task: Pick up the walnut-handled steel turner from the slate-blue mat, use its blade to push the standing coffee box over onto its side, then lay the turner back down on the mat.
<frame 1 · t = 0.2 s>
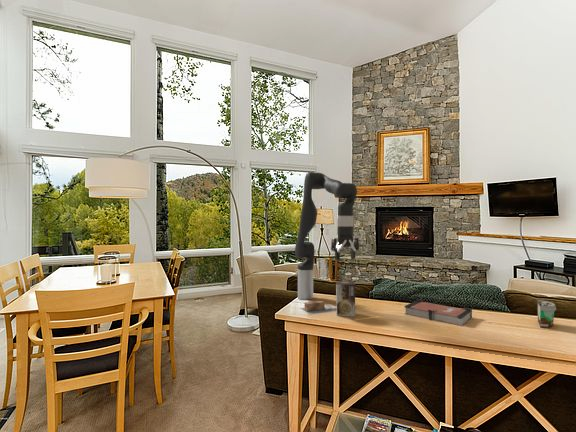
hand: (345, 259, 157), 28 cm above the table, tool pointing down, fingers open, 8 cm apart
coffee box: (345, 315, 164), on the table
book: (437, 317, 163), on the table
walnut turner: (314, 310, 171), resting on slate mat
slate mat: (320, 310, 172), on the table
food container: (547, 326, 149), on the table
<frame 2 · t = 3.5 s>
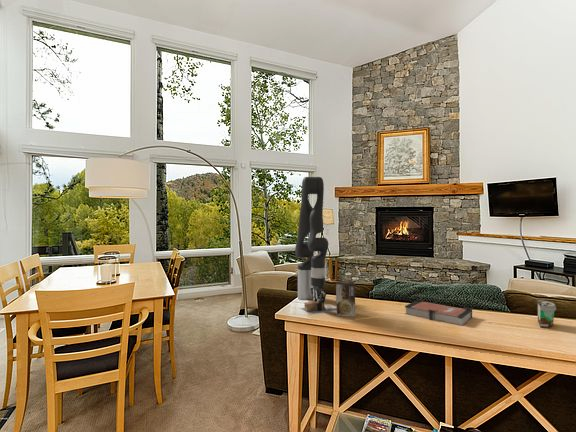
hand: (318, 309, 172), 1 cm above the table, tool pointing down, fingers closed on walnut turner, 3 cm apart
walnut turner: (314, 310, 171), point 1 cm above the table, touching gripper, slate mat
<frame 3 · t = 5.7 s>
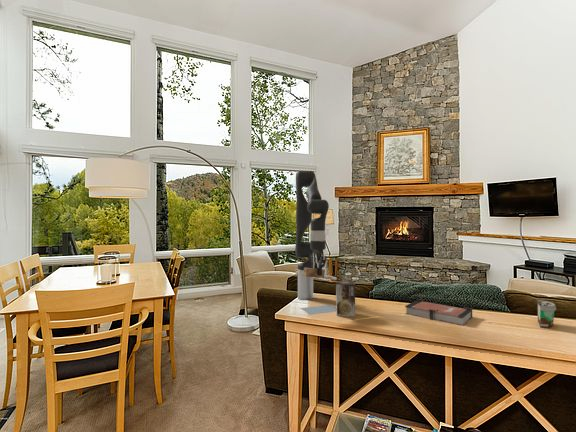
hand: (318, 274, 164), 20 cm above the table, tool pointing down, fingers closed on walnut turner, 3 cm apart
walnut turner: (313, 276, 163), point 19 cm above the table, tilted 9°, touching gripper
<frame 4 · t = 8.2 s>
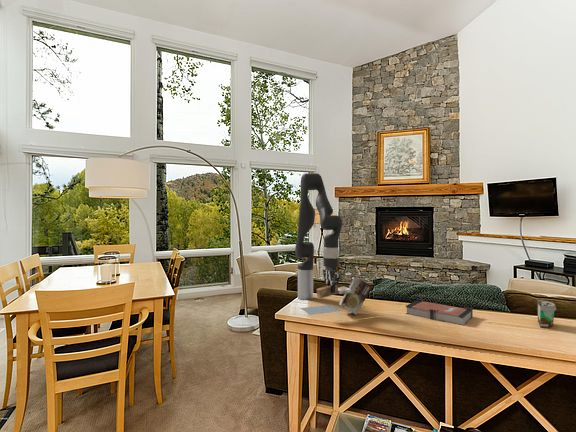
hand: (331, 292, 161), 12 cm above the table, tool pointing down, fingers closed on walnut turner, 3 cm apart
coffee box: (347, 309, 164), point 3 cm above the table
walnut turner: (328, 295, 160), point 11 cm above the table, tilted 9°, touching gripper
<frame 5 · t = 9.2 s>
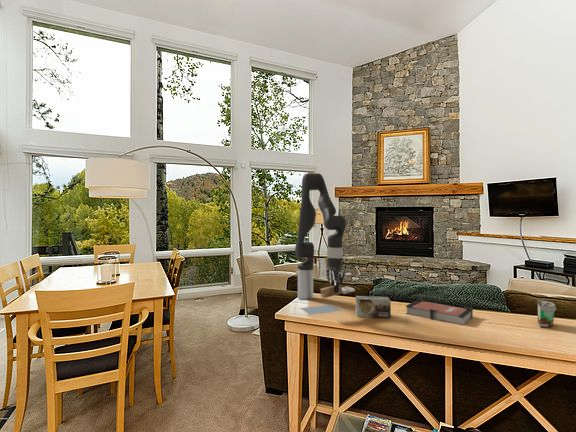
hand: (334, 291, 162), 12 cm above the table, tool pointing down, fingers closed on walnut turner, 3 cm apart
coffee box: (355, 306, 163), point 5 cm above the table
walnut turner: (331, 294, 161), point 11 cm above the table, tilted 9°, touching gripper
when the fingers open (3 cm above the table, at t = 12.8 s): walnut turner stays where it is, resting on slate mat.
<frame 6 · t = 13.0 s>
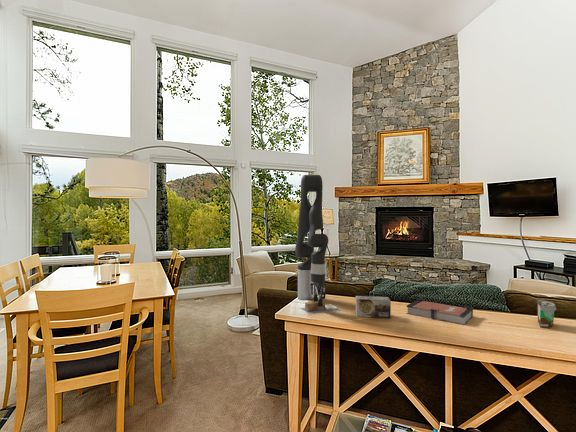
hand: (318, 305, 172), 3 cm above the table, tool pointing down, fingers open, 4 cm apart
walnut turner: (315, 310, 171), resting on slate mat
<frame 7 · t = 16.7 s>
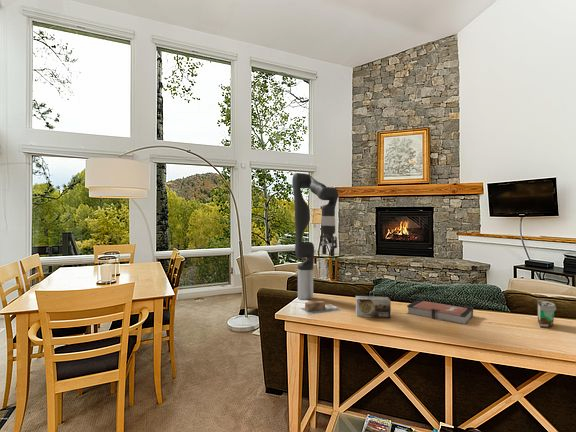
hand: (328, 255, 176), 28 cm above the table, tool pointing down, fingers open, 8 cm apart
at the end: coffee box tilted 91°; the gripper is holding nothing; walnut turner inside the target area (1.2 cm from its centre), point 0.5 cm above the table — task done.
